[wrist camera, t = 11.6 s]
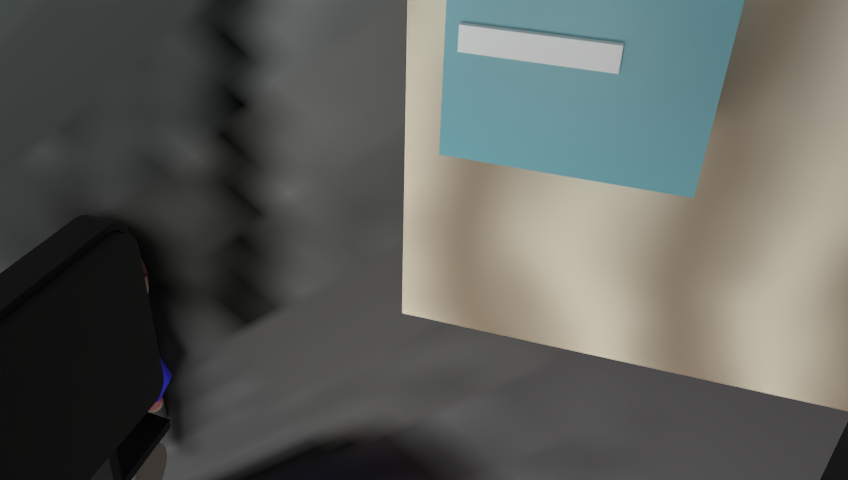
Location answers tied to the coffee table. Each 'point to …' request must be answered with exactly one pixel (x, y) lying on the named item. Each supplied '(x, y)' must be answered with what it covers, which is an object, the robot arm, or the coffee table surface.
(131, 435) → the figurine character
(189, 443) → the coffee table surface
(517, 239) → the hub board
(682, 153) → the teal drawer cube
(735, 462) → the coffee table surface
